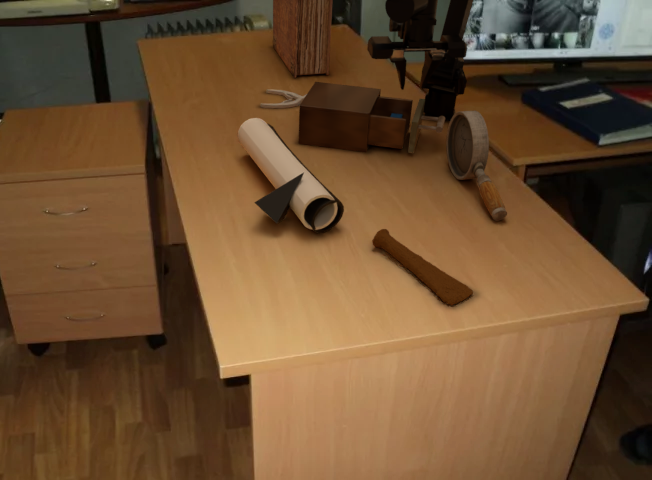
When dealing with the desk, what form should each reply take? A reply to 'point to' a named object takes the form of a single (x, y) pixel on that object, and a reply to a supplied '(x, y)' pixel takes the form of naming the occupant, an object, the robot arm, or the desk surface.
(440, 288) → the primitive tool
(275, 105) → the pliers
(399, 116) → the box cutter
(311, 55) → the book
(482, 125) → the magnifying glass
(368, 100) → the cabinet
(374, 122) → the drawer
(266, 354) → the desk surface
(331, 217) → the diploma
